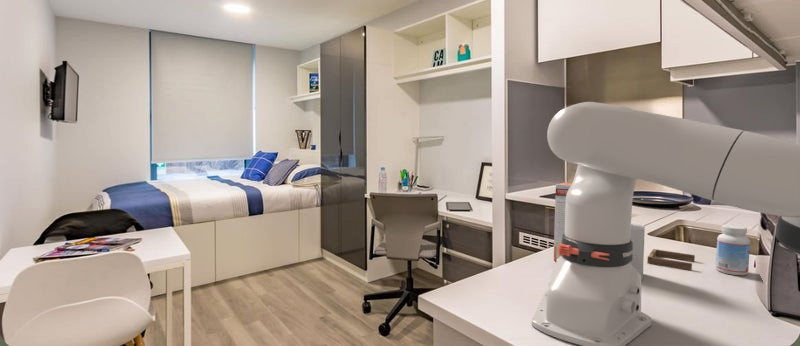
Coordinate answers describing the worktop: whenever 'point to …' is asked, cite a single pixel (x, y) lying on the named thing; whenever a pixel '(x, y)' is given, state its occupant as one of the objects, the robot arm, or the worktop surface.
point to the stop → (671, 262)
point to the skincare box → (638, 247)
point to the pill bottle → (733, 250)
